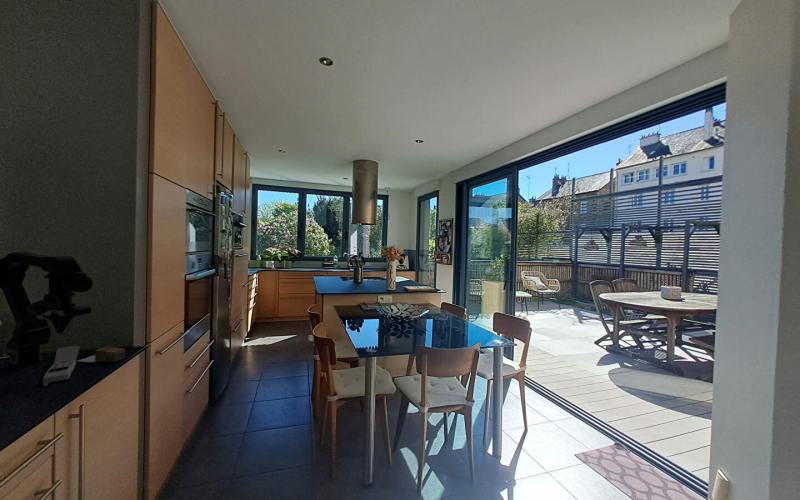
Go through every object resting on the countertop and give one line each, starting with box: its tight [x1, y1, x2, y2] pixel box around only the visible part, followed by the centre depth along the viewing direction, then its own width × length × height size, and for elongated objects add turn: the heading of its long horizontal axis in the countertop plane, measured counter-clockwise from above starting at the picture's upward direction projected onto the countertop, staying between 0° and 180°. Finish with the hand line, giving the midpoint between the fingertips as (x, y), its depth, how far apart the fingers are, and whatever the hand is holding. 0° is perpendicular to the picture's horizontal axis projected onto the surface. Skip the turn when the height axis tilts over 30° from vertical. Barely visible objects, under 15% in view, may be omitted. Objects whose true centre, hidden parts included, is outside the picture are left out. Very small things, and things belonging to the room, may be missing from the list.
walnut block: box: [94, 346, 126, 363], centre depth 117 cm, size 4×4×8 cm
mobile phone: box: [42, 345, 81, 388], centre depth 106 cm, size 6×6×25 cm
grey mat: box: [77, 354, 98, 363], centre depth 117 cm, size 8×6×1 cm
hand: (60, 333), depth 111 cm, fingers closed
